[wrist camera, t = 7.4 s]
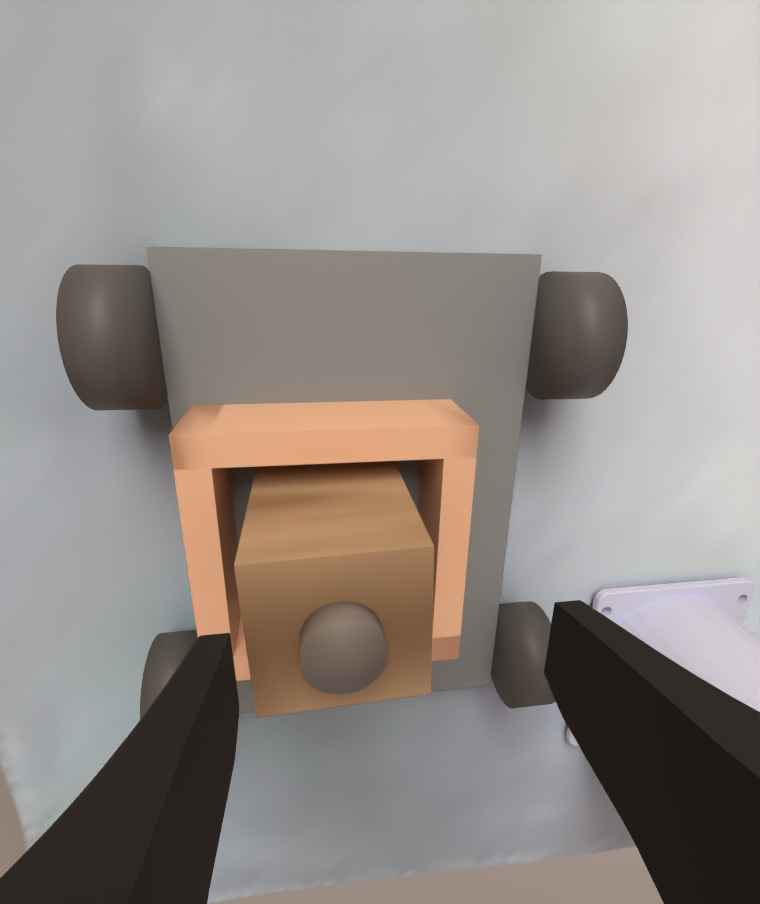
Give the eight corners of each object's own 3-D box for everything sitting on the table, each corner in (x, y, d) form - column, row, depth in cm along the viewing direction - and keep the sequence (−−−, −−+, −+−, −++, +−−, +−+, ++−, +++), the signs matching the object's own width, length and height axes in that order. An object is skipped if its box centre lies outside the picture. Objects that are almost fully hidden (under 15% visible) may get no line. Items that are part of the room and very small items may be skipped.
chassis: (512, 661, 23) (554, 740, 20) (179, 696, 21) (151, 792, 17) (569, 256, 17) (648, 253, 13) (102, 247, 15) (32, 240, 11)
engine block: (390, 557, 19) (438, 719, 12) (271, 569, 18) (253, 746, 12) (388, 448, 17) (443, 565, 11) (258, 458, 17) (229, 588, 10)
